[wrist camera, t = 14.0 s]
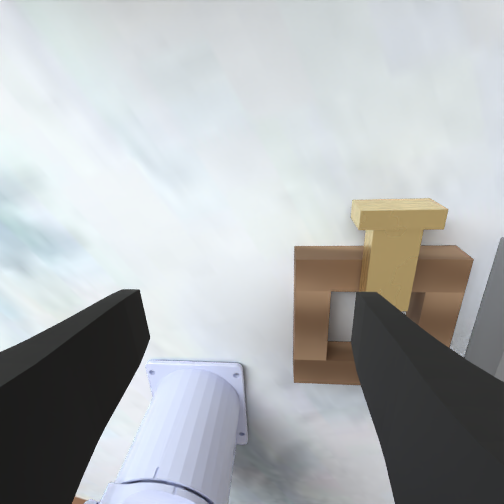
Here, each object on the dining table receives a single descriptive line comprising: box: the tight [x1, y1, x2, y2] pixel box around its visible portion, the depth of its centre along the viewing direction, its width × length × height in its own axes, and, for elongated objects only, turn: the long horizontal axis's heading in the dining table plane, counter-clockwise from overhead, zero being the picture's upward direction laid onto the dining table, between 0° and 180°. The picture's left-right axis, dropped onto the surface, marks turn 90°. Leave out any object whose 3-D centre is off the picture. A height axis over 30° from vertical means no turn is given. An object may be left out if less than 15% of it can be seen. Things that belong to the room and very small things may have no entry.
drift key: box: [351, 198, 448, 311], centre depth 17 cm, size 6×4×2 cm, turn 2°
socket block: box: [293, 245, 474, 385], centre depth 21 cm, size 10×10×2 cm
